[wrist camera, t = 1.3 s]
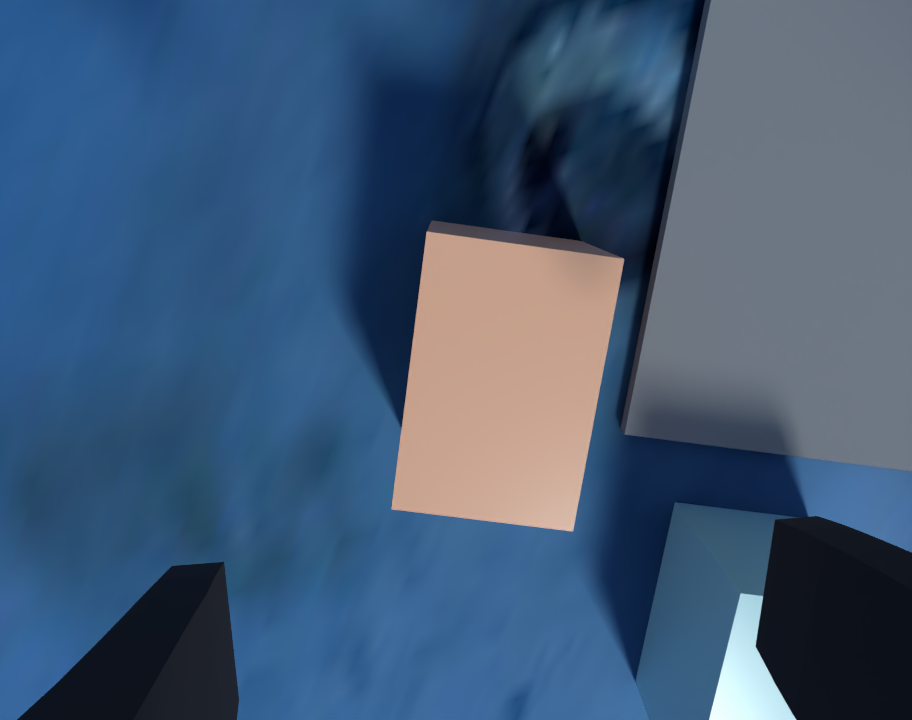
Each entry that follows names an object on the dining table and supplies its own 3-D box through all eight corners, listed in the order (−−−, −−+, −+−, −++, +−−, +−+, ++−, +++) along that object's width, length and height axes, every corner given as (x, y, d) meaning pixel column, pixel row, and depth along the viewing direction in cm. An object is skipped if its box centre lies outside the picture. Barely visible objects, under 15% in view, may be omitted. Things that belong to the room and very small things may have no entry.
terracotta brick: (580, 240, 20) (624, 258, 15) (544, 451, 21) (572, 531, 16) (432, 220, 20) (426, 231, 15) (404, 433, 21) (391, 508, 16)
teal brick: (807, 517, 22) (912, 613, 17) (760, 694, 23) (845, 831, 18) (674, 500, 21) (740, 593, 17) (634, 679, 23) (685, 814, 18)
